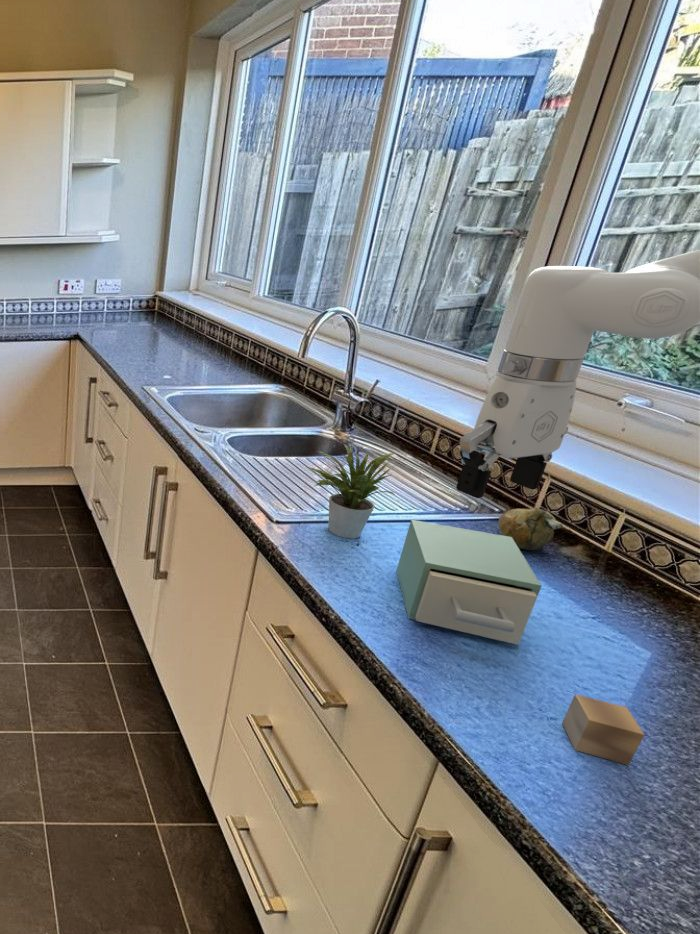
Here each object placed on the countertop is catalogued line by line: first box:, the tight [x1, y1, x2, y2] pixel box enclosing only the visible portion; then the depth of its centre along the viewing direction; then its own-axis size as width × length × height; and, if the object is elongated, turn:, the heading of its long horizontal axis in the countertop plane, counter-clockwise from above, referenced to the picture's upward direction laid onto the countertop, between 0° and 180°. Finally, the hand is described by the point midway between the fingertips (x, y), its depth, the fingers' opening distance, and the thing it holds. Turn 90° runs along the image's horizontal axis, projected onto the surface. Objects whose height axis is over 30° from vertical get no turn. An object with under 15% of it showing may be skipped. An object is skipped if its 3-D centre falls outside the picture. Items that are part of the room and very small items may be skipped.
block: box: [561, 693, 645, 766], centre depth 68 cm, size 4×4×4 cm
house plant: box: [309, 444, 396, 540], centre depth 113 cm, size 14×14×16 cm
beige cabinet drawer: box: [415, 569, 538, 646], centre depth 88 cm, size 18×11×8 cm, turn 152°
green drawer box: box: [396, 519, 543, 621], centre depth 92 cm, size 15×13×10 cm
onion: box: [497, 506, 563, 551], centre depth 108 cm, size 8×8×8 cm
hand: (496, 489), depth 84 cm, fingers open, 9 cm apart
